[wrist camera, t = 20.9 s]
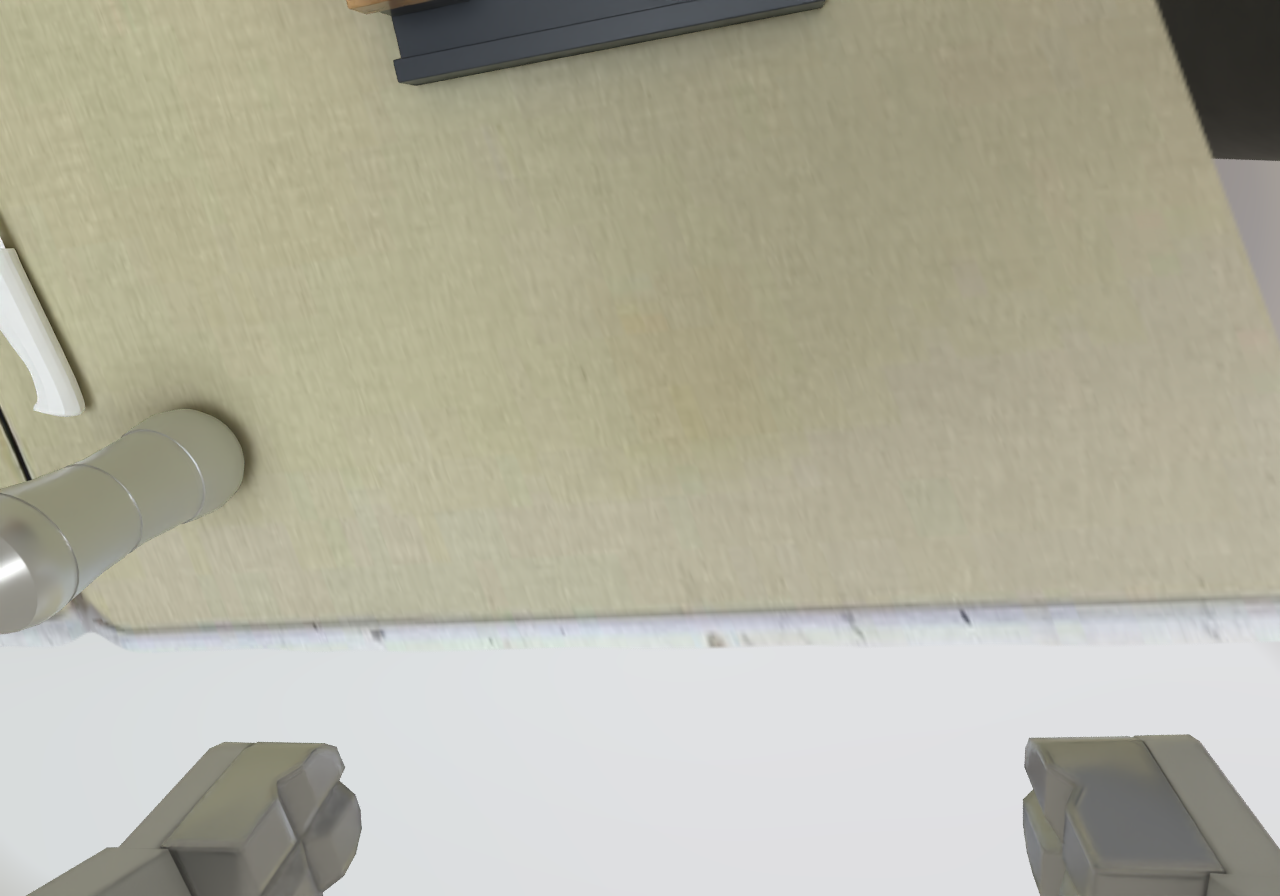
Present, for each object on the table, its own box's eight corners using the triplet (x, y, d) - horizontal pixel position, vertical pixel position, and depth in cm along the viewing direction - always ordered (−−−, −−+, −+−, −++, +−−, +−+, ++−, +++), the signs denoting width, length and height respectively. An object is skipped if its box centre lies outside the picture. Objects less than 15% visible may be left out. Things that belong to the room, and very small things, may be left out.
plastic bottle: (177, 492, 50) (-167, 697, 31) (154, 394, 47) (-235, 555, 29) (267, 500, 49) (-31, 716, 30) (249, 401, 46) (-90, 571, 28)
